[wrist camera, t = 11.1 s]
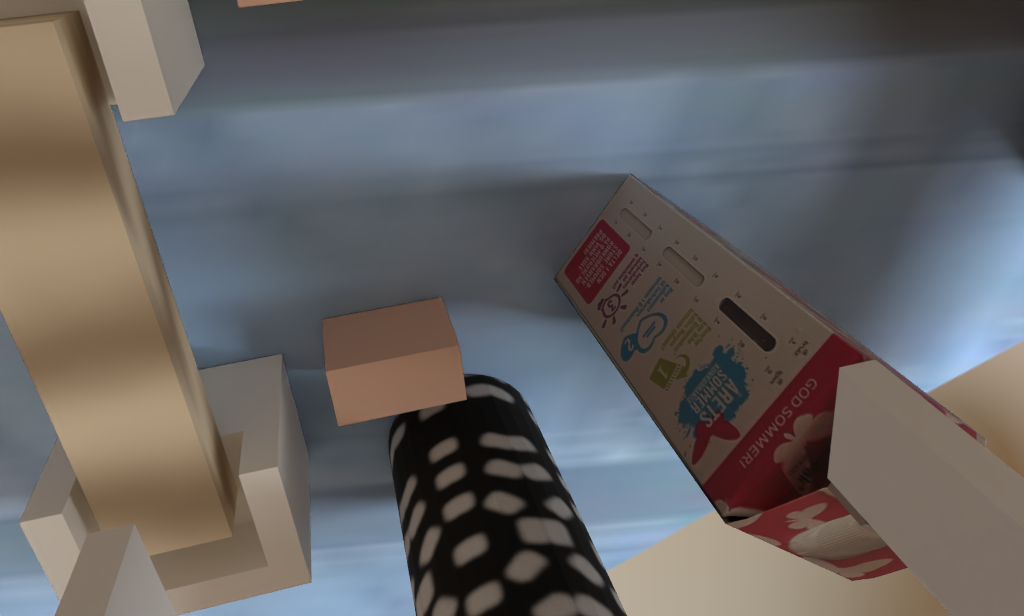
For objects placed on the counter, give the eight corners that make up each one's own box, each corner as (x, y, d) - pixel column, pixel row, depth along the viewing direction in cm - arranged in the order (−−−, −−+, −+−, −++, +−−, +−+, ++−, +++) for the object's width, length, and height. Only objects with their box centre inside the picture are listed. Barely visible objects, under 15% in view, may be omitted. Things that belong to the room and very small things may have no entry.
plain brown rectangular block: (227, -90, 29) (215, -91, 25) (384, -105, 30) (398, -107, 26) (333, 370, 39) (338, 426, 35) (448, 347, 40) (466, 399, 36)
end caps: (-129, -91, 27) (-304, -93, 19) (156, -115, 28) (103, -126, 21) (122, 496, 39) (79, 639, 32) (309, 456, 41) (311, 582, 33)
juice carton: (644, 331, 43) (920, 662, 24) (553, 278, 40) (784, 609, 21) (719, 235, 41) (1078, 509, 22) (630, 173, 38) (955, 427, 19)
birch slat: (-77, 27, 24) (-123, 41, 21) (78, 10, 24) (52, 21, 22) (130, 512, 33) (116, 563, 31) (237, 488, 34) (232, 536, 31)
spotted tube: (492, 347, 41) (634, 664, 24) (556, 448, 45) (716, 779, 28) (359, 425, 41) (403, 795, 24) (434, 518, 45) (518, 890, 28)
